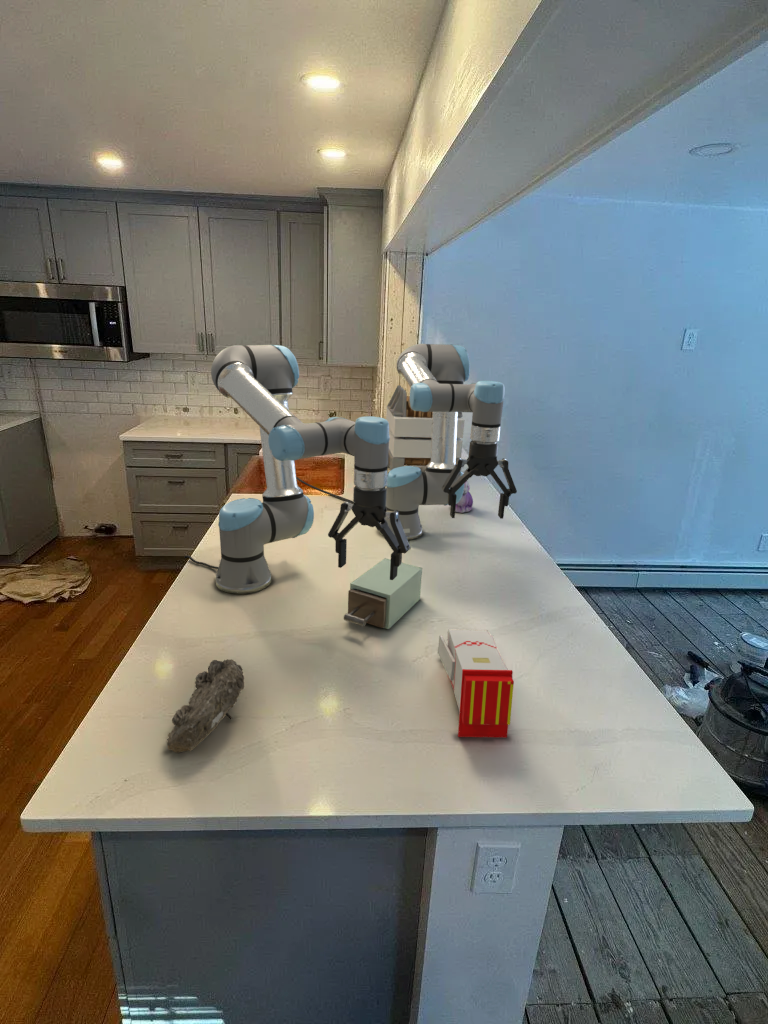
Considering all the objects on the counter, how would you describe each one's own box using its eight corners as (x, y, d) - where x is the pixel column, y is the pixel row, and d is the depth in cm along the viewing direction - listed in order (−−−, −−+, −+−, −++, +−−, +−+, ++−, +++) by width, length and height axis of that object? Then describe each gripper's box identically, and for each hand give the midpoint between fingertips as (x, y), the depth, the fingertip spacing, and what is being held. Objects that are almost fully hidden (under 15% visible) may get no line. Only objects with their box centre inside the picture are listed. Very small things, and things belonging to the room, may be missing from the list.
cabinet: (388, 629, 140) (390, 595, 137) (349, 616, 145) (350, 583, 142) (420, 599, 156) (422, 567, 152) (383, 588, 161) (385, 557, 157)
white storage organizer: (382, 463, 289) (386, 382, 275) (445, 464, 293) (451, 384, 279) (390, 482, 257) (394, 392, 243) (460, 483, 261) (468, 394, 247)
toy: (488, 613, 130) (523, 677, 101) (484, 667, 133) (517, 744, 104) (435, 612, 130) (455, 676, 101) (432, 666, 133) (451, 743, 103)
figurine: (459, 514, 221) (463, 477, 216) (445, 506, 229) (448, 470, 224) (479, 511, 225) (483, 475, 220) (464, 503, 234) (467, 468, 228)
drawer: (371, 639, 134) (372, 611, 131) (335, 627, 138) (335, 600, 136) (413, 599, 153) (415, 575, 150) (380, 590, 157) (381, 565, 155)
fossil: (192, 660, 117) (244, 628, 112) (224, 691, 120) (276, 661, 115) (142, 746, 98) (202, 712, 93) (182, 779, 101) (242, 748, 96)
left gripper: (313, 482, 129) (314, 566, 137) (415, 500, 120) (410, 589, 127) (330, 474, 136) (329, 555, 143) (427, 490, 127) (421, 576, 134)
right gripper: (440, 443, 145) (434, 520, 152) (534, 445, 147) (524, 522, 154) (435, 437, 152) (429, 511, 159) (525, 439, 154) (516, 512, 161)
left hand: (367, 571), depth 135 cm, fingers open, 13 cm apart
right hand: (476, 516), depth 157 cm, fingers open, 13 cm apart
